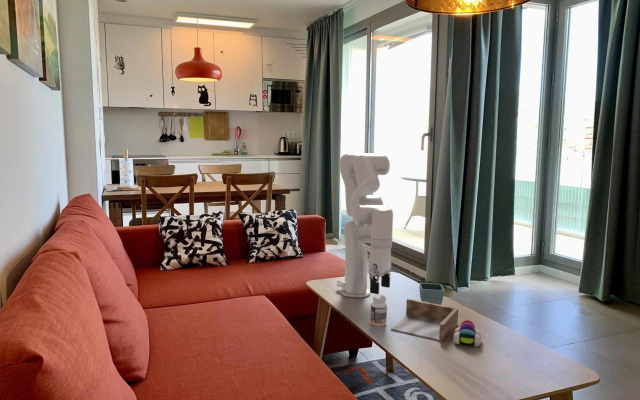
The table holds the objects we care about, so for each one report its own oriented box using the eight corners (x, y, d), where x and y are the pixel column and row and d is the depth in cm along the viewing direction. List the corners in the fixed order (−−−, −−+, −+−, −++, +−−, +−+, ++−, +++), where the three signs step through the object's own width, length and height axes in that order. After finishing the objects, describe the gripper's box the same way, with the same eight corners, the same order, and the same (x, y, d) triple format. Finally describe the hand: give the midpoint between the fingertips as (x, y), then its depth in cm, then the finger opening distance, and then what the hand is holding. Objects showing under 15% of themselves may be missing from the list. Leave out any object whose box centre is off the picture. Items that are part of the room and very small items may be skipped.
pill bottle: (369, 320, 181) (369, 294, 179) (384, 320, 181) (385, 294, 180) (371, 326, 175) (372, 299, 174) (387, 326, 175) (388, 299, 174)
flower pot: (440, 305, 199) (441, 283, 198) (443, 312, 190) (444, 290, 189) (418, 304, 200) (419, 282, 198) (420, 311, 191) (421, 289, 190)
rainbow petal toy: (480, 339, 166) (482, 318, 165) (480, 350, 157) (481, 328, 156) (454, 335, 169) (456, 314, 168) (452, 346, 160) (453, 324, 159)
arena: (388, 329, 172) (389, 313, 171) (407, 313, 188) (407, 298, 187) (442, 342, 163) (443, 324, 162) (457, 324, 179) (458, 308, 178)
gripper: (381, 238, 183) (380, 283, 185) (361, 245, 168) (359, 294, 170) (400, 240, 180) (398, 286, 181) (381, 248, 165) (380, 298, 166)
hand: (380, 290), depth 176 cm, fingers open, 9 cm apart
